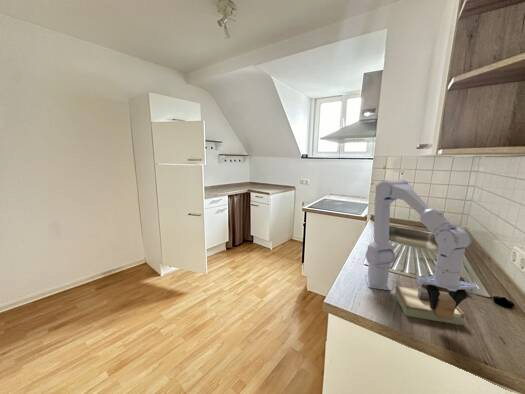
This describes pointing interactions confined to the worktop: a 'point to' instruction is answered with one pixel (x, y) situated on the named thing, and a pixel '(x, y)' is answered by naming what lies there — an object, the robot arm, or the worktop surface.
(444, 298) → the block
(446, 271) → the robot arm
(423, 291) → the lid
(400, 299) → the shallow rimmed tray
